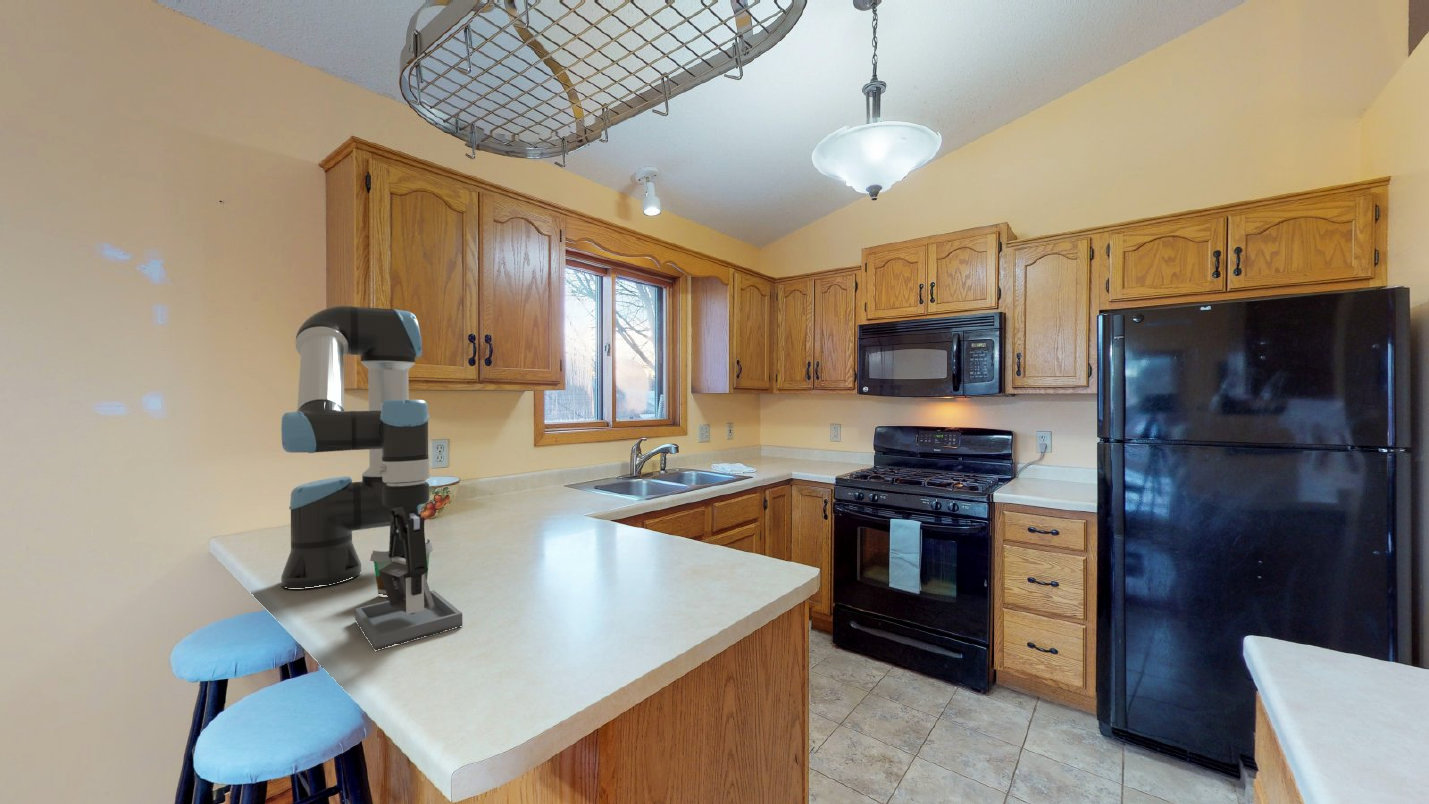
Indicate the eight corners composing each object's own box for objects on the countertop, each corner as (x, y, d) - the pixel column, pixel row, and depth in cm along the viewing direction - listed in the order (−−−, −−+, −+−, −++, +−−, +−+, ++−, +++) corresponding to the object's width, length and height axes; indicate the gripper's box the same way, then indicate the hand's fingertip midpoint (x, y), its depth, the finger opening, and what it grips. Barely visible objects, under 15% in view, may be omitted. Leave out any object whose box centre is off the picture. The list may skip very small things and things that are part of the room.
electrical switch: (436, 609, 97) (430, 559, 97) (406, 621, 93) (400, 569, 92) (409, 599, 102) (404, 552, 102) (381, 611, 98) (375, 562, 97)
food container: (382, 604, 108) (382, 555, 108) (370, 598, 112) (369, 550, 112) (443, 587, 118) (443, 542, 118) (430, 582, 122) (430, 538, 122)
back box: (355, 621, 99) (355, 608, 99) (434, 602, 109) (434, 590, 109) (375, 651, 87) (374, 636, 87) (462, 626, 96) (462, 613, 96)
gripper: (369, 479, 103) (371, 594, 103) (397, 491, 87) (399, 628, 87) (412, 475, 109) (414, 585, 108) (446, 486, 93) (448, 615, 92)
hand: (407, 604), depth 98 cm, fingers closed on electrical switch, 9 cm apart
